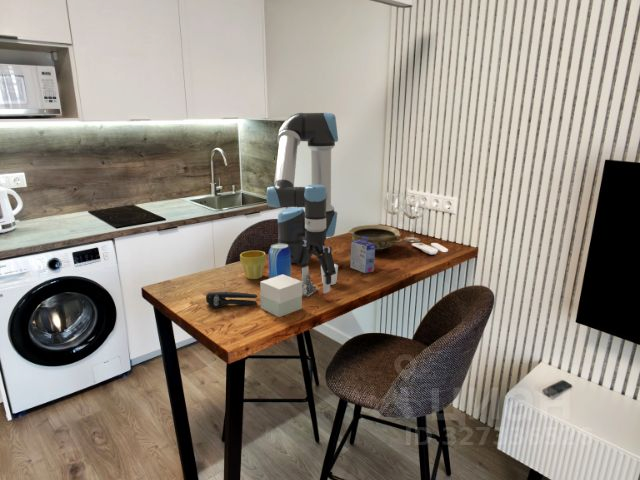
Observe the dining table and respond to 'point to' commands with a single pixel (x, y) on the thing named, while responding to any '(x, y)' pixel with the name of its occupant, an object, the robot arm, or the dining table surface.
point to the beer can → (279, 260)
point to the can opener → (219, 299)
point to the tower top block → (281, 288)
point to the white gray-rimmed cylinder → (333, 277)
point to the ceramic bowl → (376, 235)
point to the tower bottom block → (281, 306)
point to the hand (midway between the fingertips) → (315, 287)
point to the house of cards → (308, 287)
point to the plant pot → (253, 263)
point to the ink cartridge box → (362, 255)
